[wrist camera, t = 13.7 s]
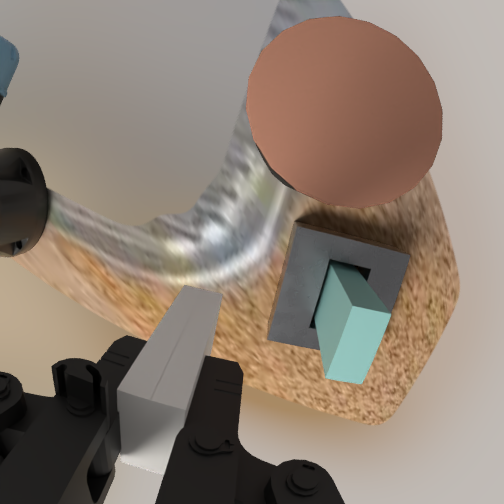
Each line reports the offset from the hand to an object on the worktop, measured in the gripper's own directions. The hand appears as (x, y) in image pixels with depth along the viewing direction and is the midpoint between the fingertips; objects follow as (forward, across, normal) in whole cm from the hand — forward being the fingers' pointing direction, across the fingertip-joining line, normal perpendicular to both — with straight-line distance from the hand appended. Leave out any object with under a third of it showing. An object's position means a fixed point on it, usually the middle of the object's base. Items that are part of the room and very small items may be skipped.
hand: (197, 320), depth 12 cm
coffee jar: (+23, +5, +10) cm, 25 cm away
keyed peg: (+22, +11, -4) cm, 25 cm away
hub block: (+22, +12, -4) cm, 25 cm away
